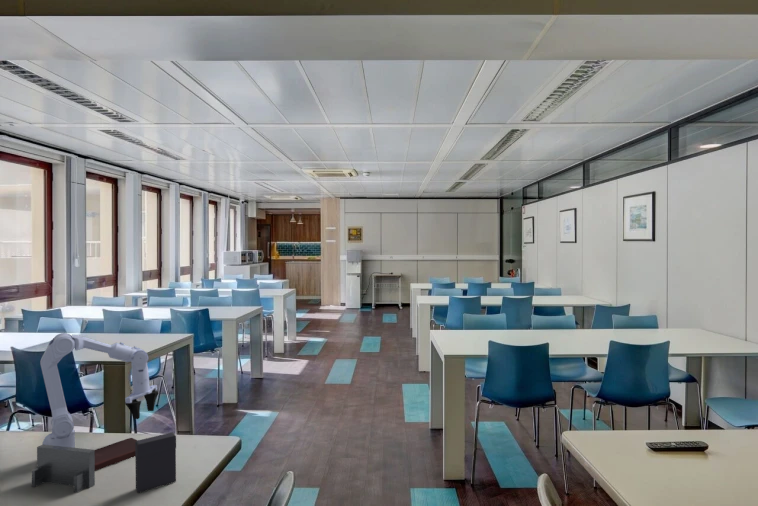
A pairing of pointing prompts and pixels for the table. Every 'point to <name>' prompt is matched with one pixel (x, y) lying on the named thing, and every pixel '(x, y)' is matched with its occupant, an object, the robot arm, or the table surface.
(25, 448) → the table surface
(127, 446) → the book
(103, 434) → the table surface
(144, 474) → the upright charcoal tile
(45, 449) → the bookend
